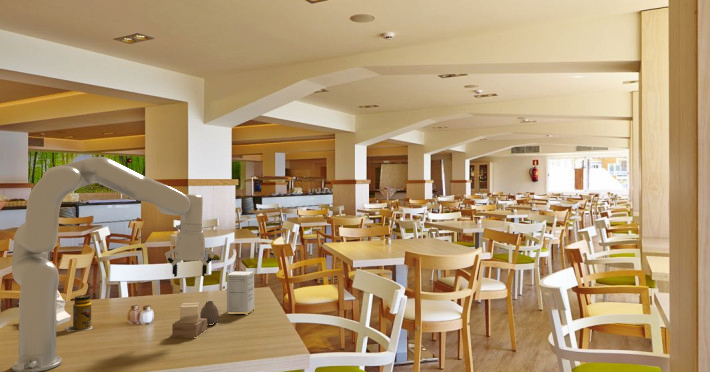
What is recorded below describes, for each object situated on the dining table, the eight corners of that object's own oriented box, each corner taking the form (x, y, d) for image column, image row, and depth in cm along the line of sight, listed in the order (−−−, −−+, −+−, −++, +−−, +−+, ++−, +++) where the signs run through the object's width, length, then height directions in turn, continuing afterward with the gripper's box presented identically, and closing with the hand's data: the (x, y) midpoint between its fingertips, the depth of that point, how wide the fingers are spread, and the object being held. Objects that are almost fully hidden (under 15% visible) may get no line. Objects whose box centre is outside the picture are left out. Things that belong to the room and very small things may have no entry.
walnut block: (196, 339, 183) (196, 325, 183) (172, 337, 185) (172, 323, 185) (207, 332, 192) (207, 318, 192) (184, 331, 193) (184, 317, 193)
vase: (196, 325, 201) (196, 302, 201) (209, 321, 207) (209, 299, 207) (209, 327, 198) (209, 304, 198) (222, 323, 204) (222, 300, 204)
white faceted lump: (53, 320, 212) (64, 285, 215) (72, 329, 204) (83, 293, 206) (21, 318, 202) (33, 282, 204) (39, 328, 194) (51, 290, 196)
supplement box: (254, 310, 226) (255, 271, 226) (248, 315, 216) (248, 274, 216) (233, 309, 227) (233, 270, 227) (225, 314, 217) (226, 274, 217)
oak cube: (197, 323, 186) (197, 306, 186) (180, 323, 185) (180, 306, 185) (199, 318, 192) (199, 302, 192) (182, 319, 191) (182, 303, 191)
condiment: (93, 329, 194) (93, 296, 194) (67, 332, 189) (67, 299, 189) (90, 324, 200) (91, 293, 200) (65, 327, 195) (66, 295, 196)
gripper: (164, 229, 183) (162, 278, 182) (215, 229, 187) (213, 277, 186) (167, 227, 190) (165, 274, 190) (216, 228, 194) (214, 274, 194)
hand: (189, 276), depth 188 cm, fingers open, 9 cm apart
